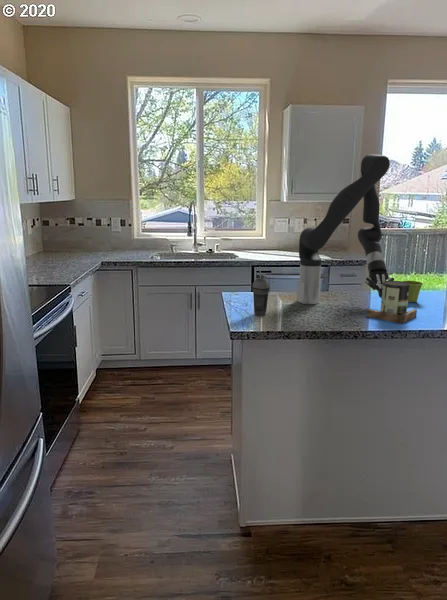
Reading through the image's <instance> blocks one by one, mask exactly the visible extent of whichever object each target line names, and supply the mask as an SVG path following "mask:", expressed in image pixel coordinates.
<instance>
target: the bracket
mask: <svg viewBox="0 0 447 600" xmlns="http://www.w3.org/2000/svg"><path fill="white" fill-rule="evenodd" d="M417 313H418V310H417V309H415V308H413V309H410V310H407V312H406V313H404V314H402V315H396V314H391V313H386V312H381V311H380V310H377V309H376V310H375V309H371V308H367V309H366V317H368V318H373V319H377V320H383V321H387V322H392V323H396V324H400V325H401V324H404V323H407V322H409V320H412V319H414V318H415V317H417Z"/></svg>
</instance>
